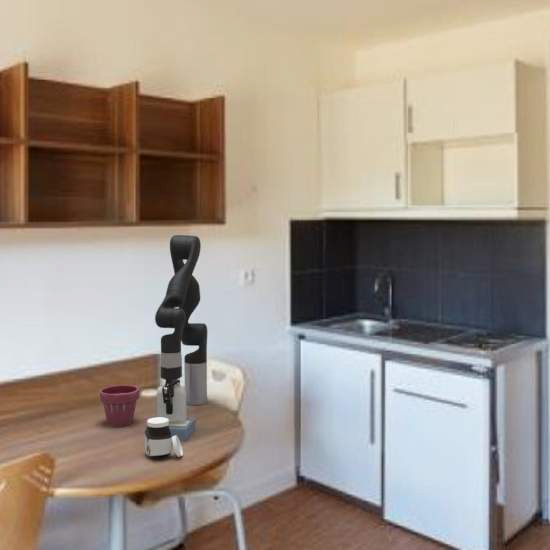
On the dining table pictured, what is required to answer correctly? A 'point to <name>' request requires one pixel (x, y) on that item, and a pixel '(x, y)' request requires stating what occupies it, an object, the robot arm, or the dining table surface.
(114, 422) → the plant pot
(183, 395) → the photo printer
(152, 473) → the dining table surface
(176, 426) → the base block
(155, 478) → the dining table surface
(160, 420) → the spread jar
